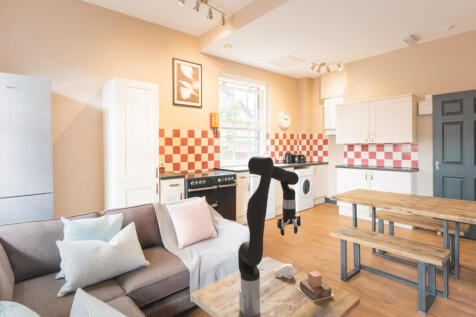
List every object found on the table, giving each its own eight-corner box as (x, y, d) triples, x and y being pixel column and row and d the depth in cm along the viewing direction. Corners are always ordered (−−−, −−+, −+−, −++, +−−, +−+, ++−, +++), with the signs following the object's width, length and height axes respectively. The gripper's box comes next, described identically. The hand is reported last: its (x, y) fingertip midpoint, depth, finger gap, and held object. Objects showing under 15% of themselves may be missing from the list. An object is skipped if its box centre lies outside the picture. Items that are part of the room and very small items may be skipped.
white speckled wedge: (292, 266, 153) (272, 266, 156) (294, 281, 153) (273, 280, 156) (293, 262, 159) (273, 262, 162) (294, 275, 159) (274, 275, 162)
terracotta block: (313, 288, 137) (314, 276, 137) (308, 283, 142) (308, 272, 141) (321, 286, 139) (321, 275, 138) (315, 281, 143) (315, 270, 143)
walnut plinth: (313, 300, 133) (313, 292, 133) (299, 288, 144) (299, 281, 144) (331, 295, 137) (331, 288, 137) (316, 284, 148) (316, 277, 148)
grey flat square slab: (312, 304, 131) (312, 302, 131) (296, 289, 144) (296, 287, 144) (334, 297, 137) (334, 295, 136) (317, 284, 150) (317, 282, 149)
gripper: (281, 209, 145) (281, 238, 145) (303, 207, 150) (303, 234, 151) (274, 206, 152) (275, 234, 152) (295, 204, 157) (295, 230, 158)
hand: (289, 234), depth 152 cm, fingers open, 8 cm apart
